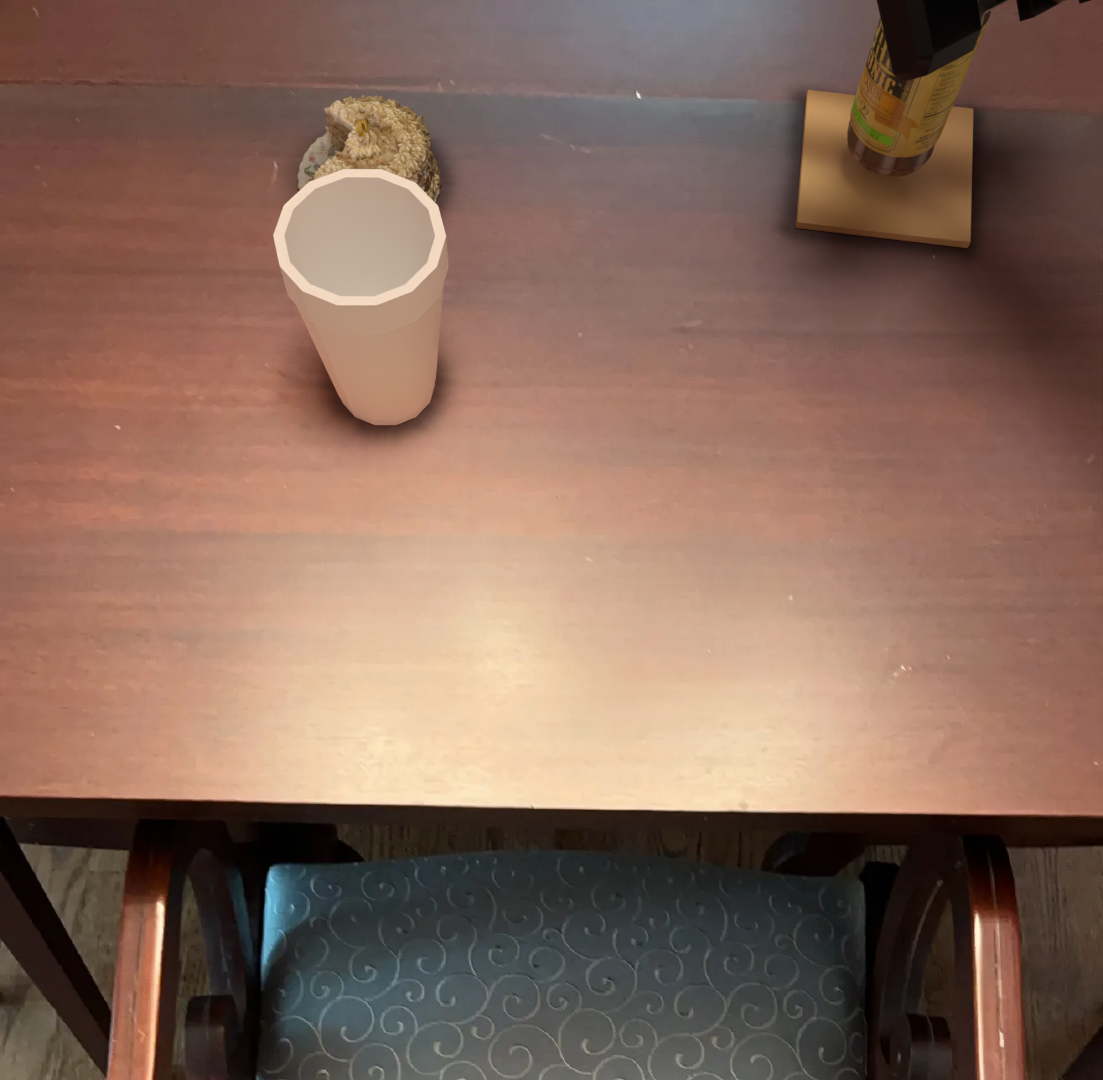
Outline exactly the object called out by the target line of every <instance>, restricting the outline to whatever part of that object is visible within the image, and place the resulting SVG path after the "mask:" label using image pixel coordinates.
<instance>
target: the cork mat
mask: <svg viewBox="0 0 1103 1080" xmlns="http://www.w3.org/2000/svg"><path fill="white" fill-rule="evenodd" d="M855 95H856V94H851V93H842V92H841V93H840V92H832V91H824V90H813V89H807V91H806V94H805V101H804V102H805V104H804V114H803V115H804V116H803V126H802V128H803V130H802V141H801V154H800V165H799V166H800V167H799V179H798V192H797V204H796V216H795V229H801V230H810V231H816V232H817V231H818V232H819V231H820V232H826V233H827V232H828V233H834V234H835V233H836V234H845V235H851V236H852V235H853V236H861V237H868V238H878V239H886V240H894V241H904V242H912V243H921V244H929V245H937V246H946V247H955V248H961V249H968V248H969V247H970V244H971V240H972V239H971V238H972V237H971V236H972V198H973V197H972V195H973V194H972V193H973V191H972V190H973V153H974V152H973V147H974V108H971V107H963V106H954V105H953V107H952V109H951V112H950V114H949V116H948V119H947V121H946V124H945V126H944V129H943V131H942V133H941V136H940V138H939V139H938V141H937V142H936V144H935V146H934V150H933V152H932V155H931V156H930V158H929V159H928V161H927V162H926V163H925V164H924V165H922V166H921V167H920V168H919V169H917V170H916V171H914V172H913V173H911V174H909V175H906V176H901V177H894V176H885V175H880V174H875V173H873V172H870V171H868V170H867V169H865V168H864V167H863V166H862V165H861V164H860V163H859V162H858V161H857V160H856V159H855V157H854V156H853V155H852V154H851V153H850V151H849V148H848V140H847V131H848V126H849V121H850V113H851V108H852V105H853V101H854V98H855Z"/></svg>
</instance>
